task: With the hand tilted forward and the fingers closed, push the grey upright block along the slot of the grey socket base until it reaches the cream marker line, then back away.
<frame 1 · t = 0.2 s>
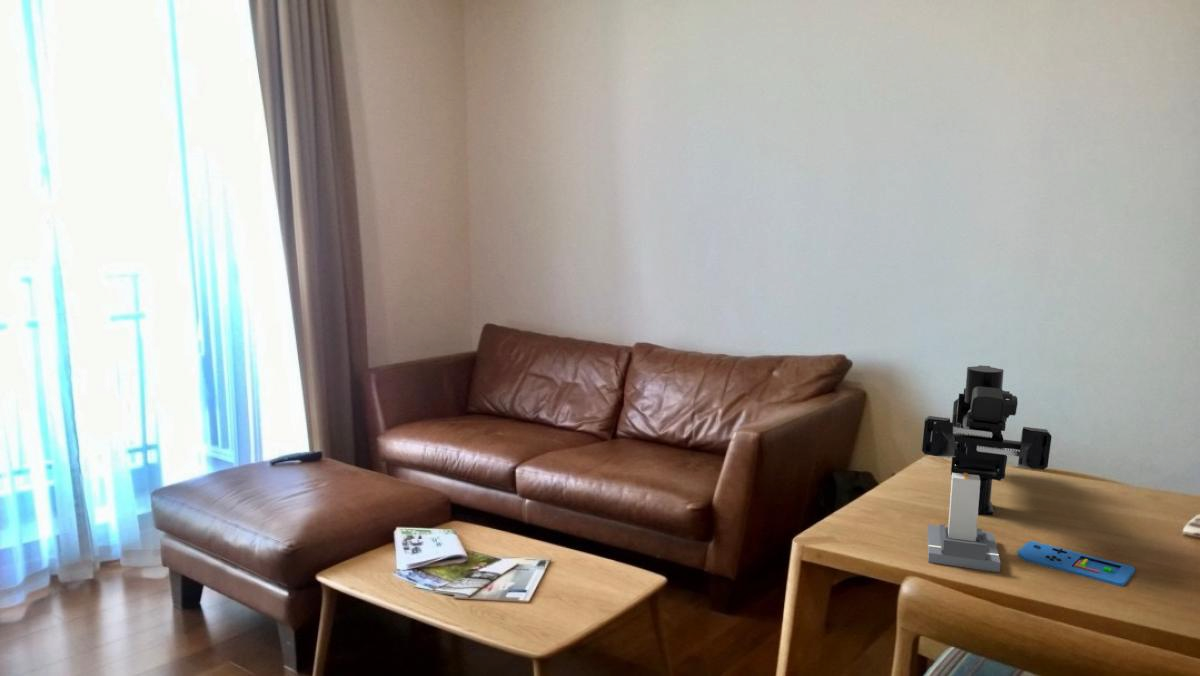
hand: (987, 457, 128), 16 cm above the table, tool horizontal, fingers open, 9 cm apart
handheld gaming device: (1073, 567, 128), on the table
grey upright block: (963, 506, 133), point 7 cm above the table, slide at 0.0 cm
grey socket base: (961, 551, 133), on the table
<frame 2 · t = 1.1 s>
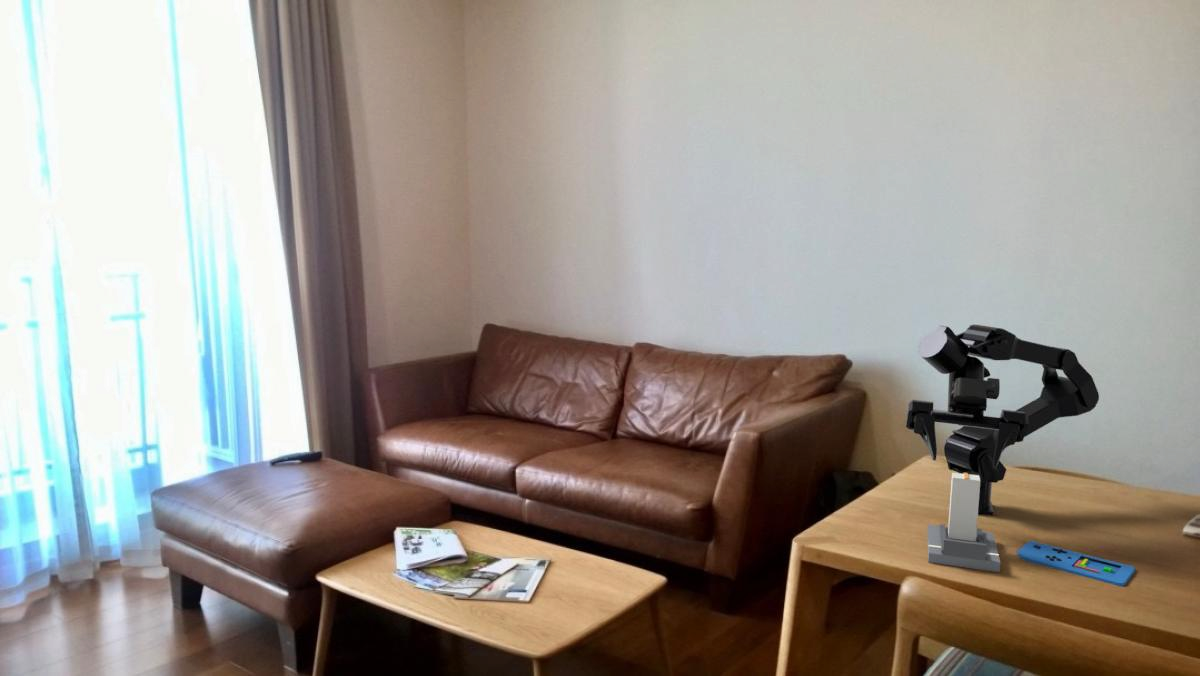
hand: (964, 463, 138), 12 cm above the table, tool tilted 45°, fingers open, 9 cm apart
nothing on the table moved.
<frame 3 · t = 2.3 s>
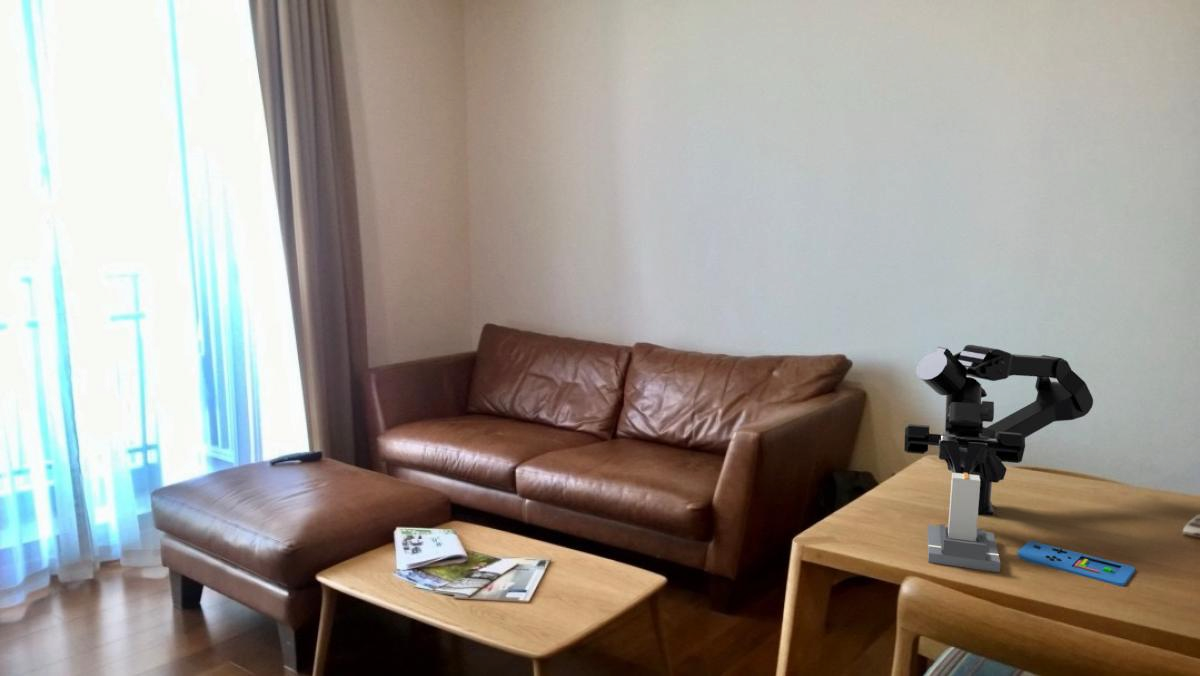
hand: (961, 487, 138), 8 cm above the table, tool tilted 45°, fingers closed
nothing on the table moved.
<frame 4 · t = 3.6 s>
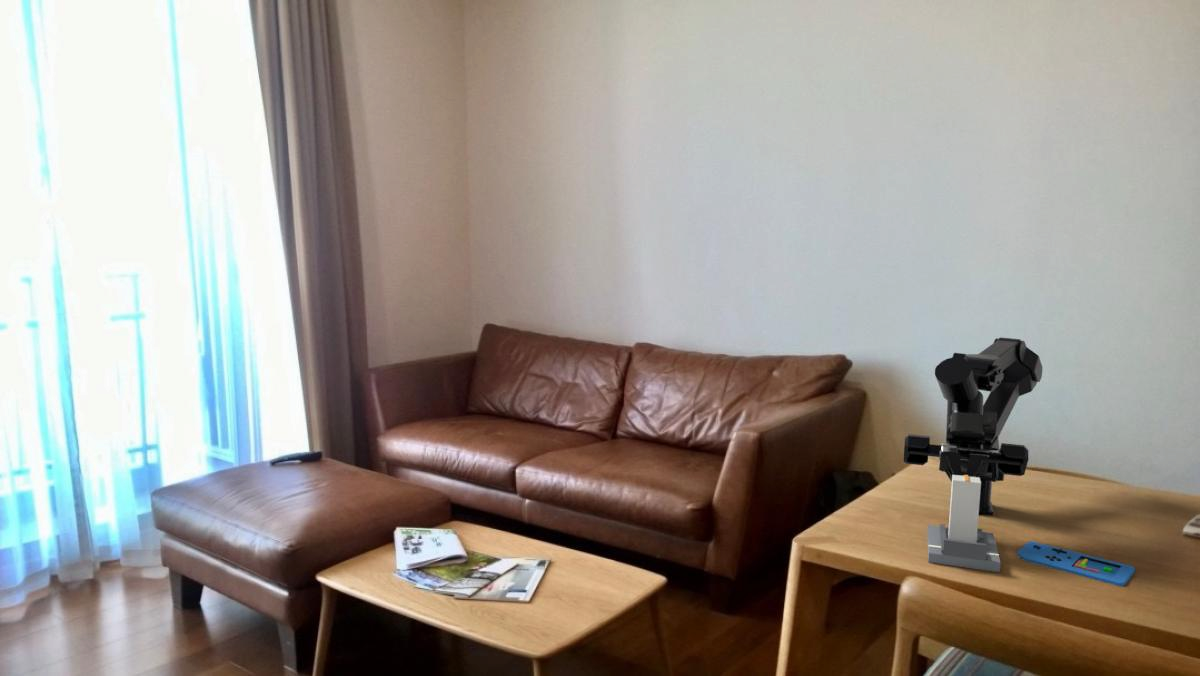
hand: (962, 500, 134), 8 cm above the table, tool tilted 45°, fingers closed, pressing on grey upright block
grey upright block: (964, 508, 132), point 7 cm above the table, slide at 1.3 cm, touching gripper
everything else where it was.
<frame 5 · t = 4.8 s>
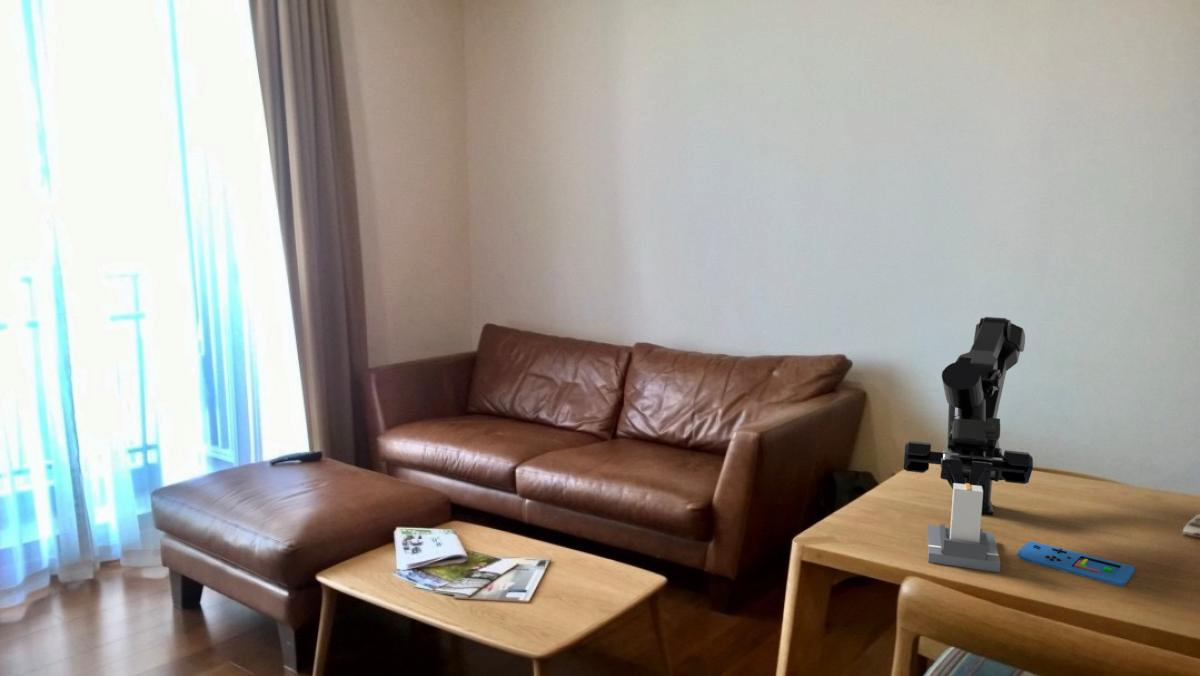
hand: (965, 509, 130), 8 cm above the table, tool tilted 45°, fingers closed, pressing on grey upright block
grey upright block: (965, 518, 128), point 7 cm above the table, slide at 5.9 cm, touching gripper
everything else where it was.
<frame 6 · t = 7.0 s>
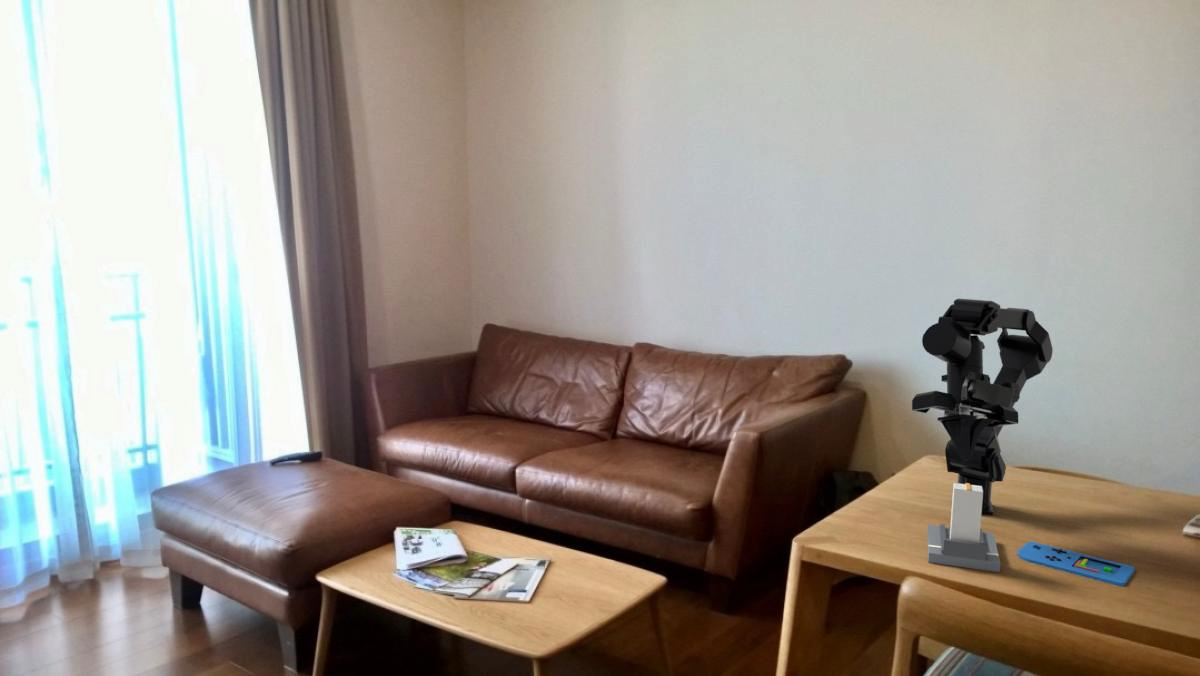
hand: (966, 460, 139), 13 cm above the table, tool tilted 25°, fingers closed
grey upright block: (965, 518, 128), point 7 cm above the table, slide at 5.8 cm
everything else where it was.
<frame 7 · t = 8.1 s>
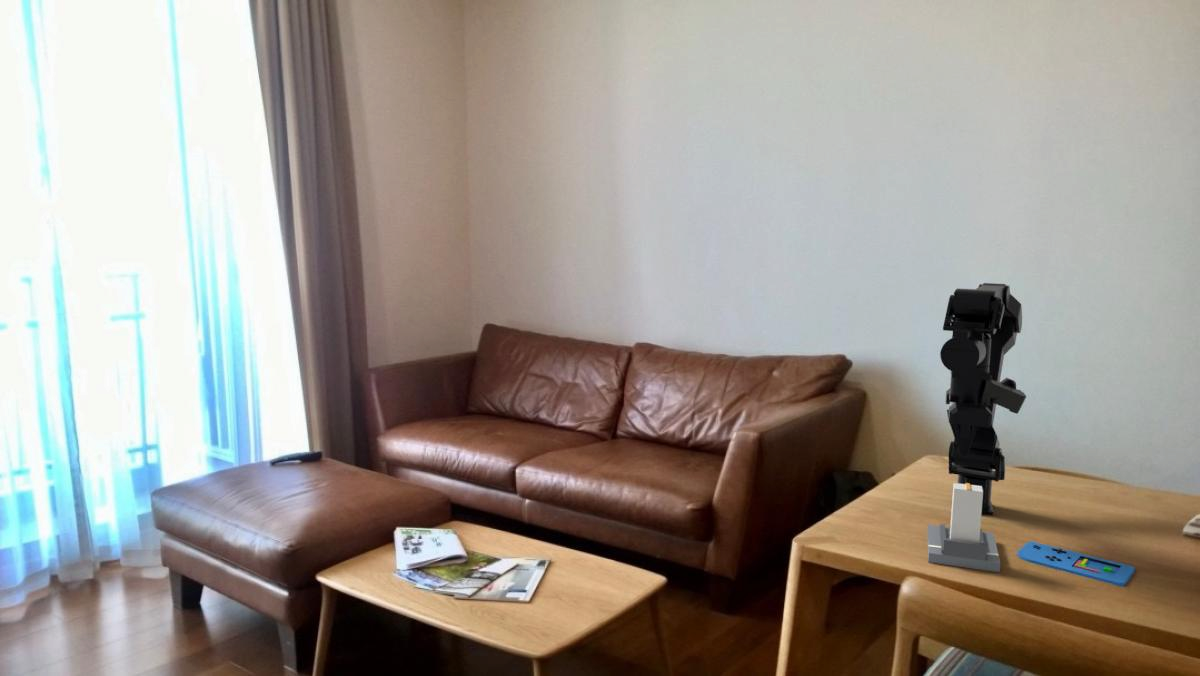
hand: (963, 455, 140), 13 cm above the table, tool pointing down, fingers closed
nothing on the table moved.
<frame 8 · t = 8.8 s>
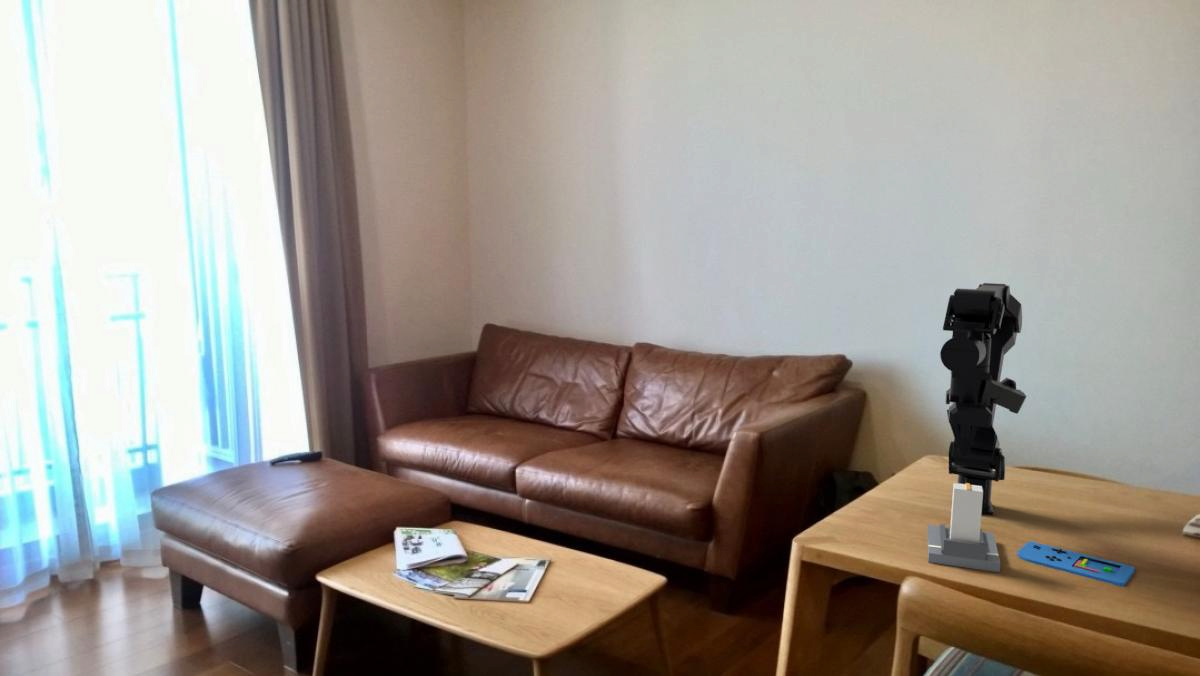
hand: (963, 455, 140), 13 cm above the table, tool pointing down, fingers closed
nothing on the table moved.
at the end: grey upright block slide at 5.8 cm; the gripper is holding nothing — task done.
